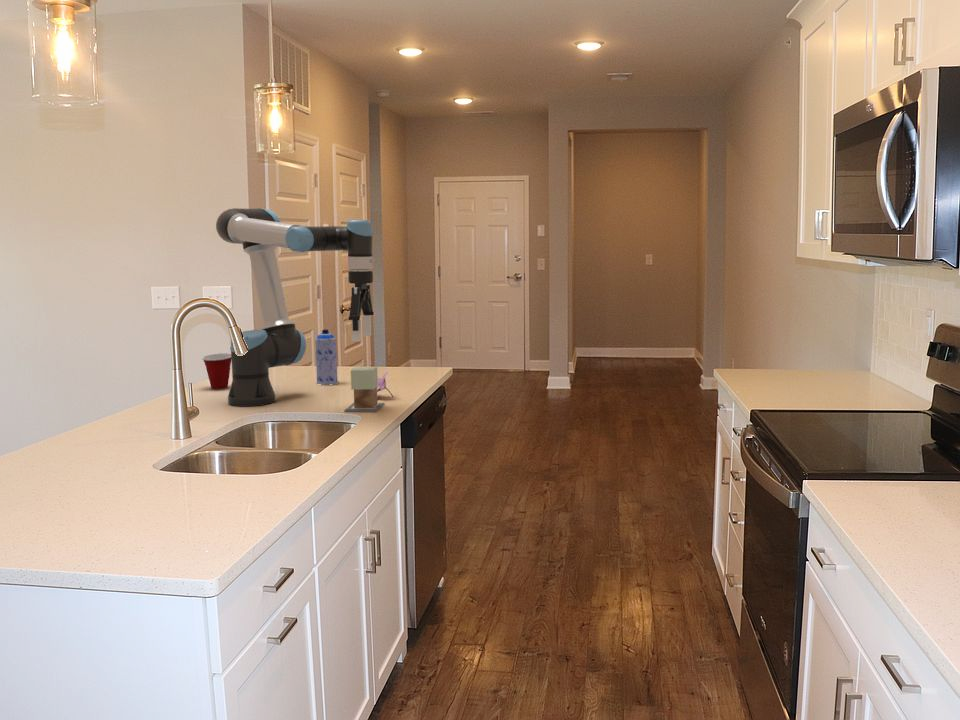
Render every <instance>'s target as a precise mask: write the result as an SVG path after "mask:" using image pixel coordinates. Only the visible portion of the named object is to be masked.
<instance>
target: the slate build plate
mask: <svg viewBox="0 0 960 720" xmlns="http://www.w3.org/2000/svg"><path fill="white" fill-rule="evenodd" d="M383 405H384V406H385V402H377V405H376V406H375V407H374V408H354V402H353V403H352V404H350V405H349V406H347V407H346V408H345V409H344V412H345V411H346V412H345V413H377V412H378V411H379V410H381V409H382V408H383V407H384V406H383ZM377 410H378V411H377ZM376 411H377V412H376Z"/></svg>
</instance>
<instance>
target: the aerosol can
mask: <svg viewBox="0 0 960 720" xmlns="http://www.w3.org/2000/svg"><path fill="white" fill-rule="evenodd" d="M314 342H315V362H316V363H315V366H316V385H317V384H321V385H320V386H331V385H330V384H335V385H337V384H336V383H338V384H339V381H338V357H337V339H336V337H335V336H334V335H333V334H332V333H330V332H329V329H327V328H326V329H322V330H321V333H320V334H318V335H317V336H316V337H315V341H314Z"/></svg>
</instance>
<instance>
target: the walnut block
mask: <svg viewBox="0 0 960 720" xmlns="http://www.w3.org/2000/svg"><path fill="white" fill-rule="evenodd" d="M353 403H354V408H374V407H375V406H376V405H377V403H378V392H377V387H376V388H375V389H353Z"/></svg>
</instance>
